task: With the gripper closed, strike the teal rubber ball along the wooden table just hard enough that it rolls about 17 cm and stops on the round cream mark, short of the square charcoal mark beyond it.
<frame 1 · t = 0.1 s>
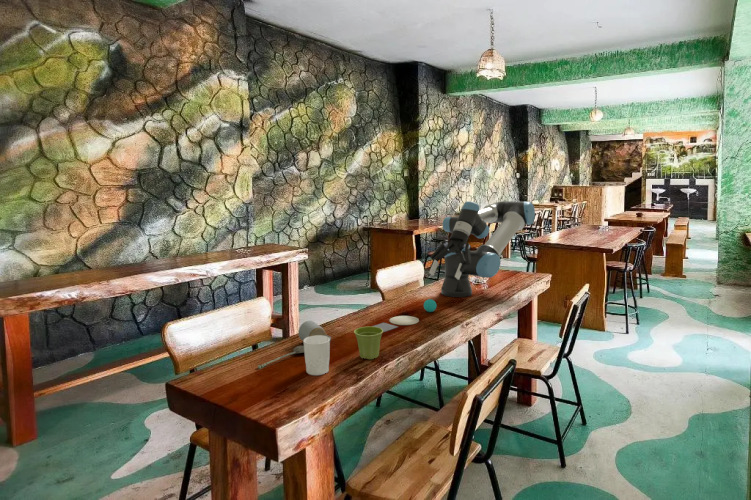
hand: (443, 276, 204), 15 cm above the table, tool tilted 35°, fingers open, 13 cm apart
ball: (430, 305, 205), on the table
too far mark: (383, 327, 185), on the table
plant pot: (369, 356, 156), on the table
white cup: (317, 371, 144), on the table
soupspoon: (287, 360, 155), on the table
ceramic mug: (316, 343, 169), on the table
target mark: (404, 320, 193), on the table
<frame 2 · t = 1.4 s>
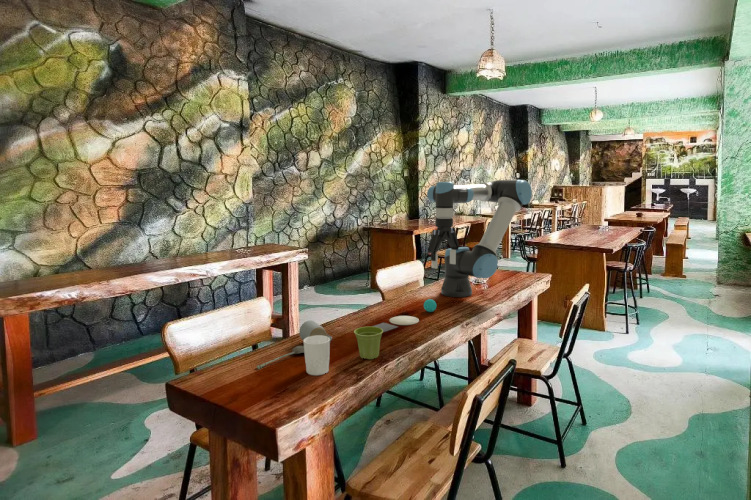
hand: (443, 266, 209), 19 cm above the table, tool pointing down, fingers open, 13 cm apart
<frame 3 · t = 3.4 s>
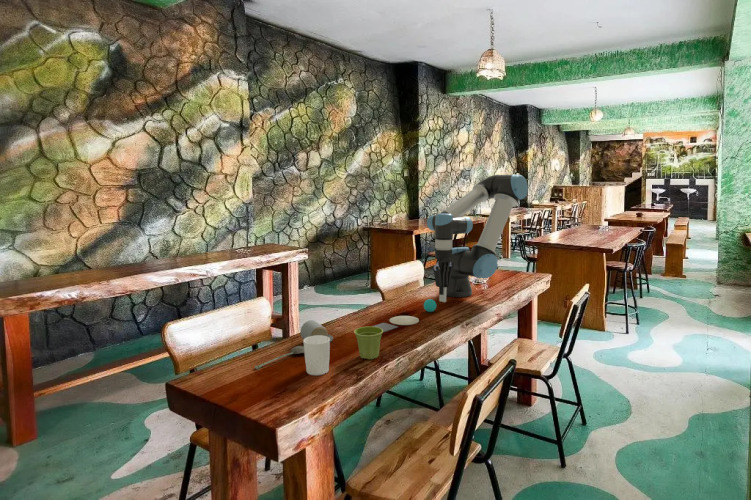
hand: (442, 301, 212), 3 cm above the table, tool pointing down, fingers closed
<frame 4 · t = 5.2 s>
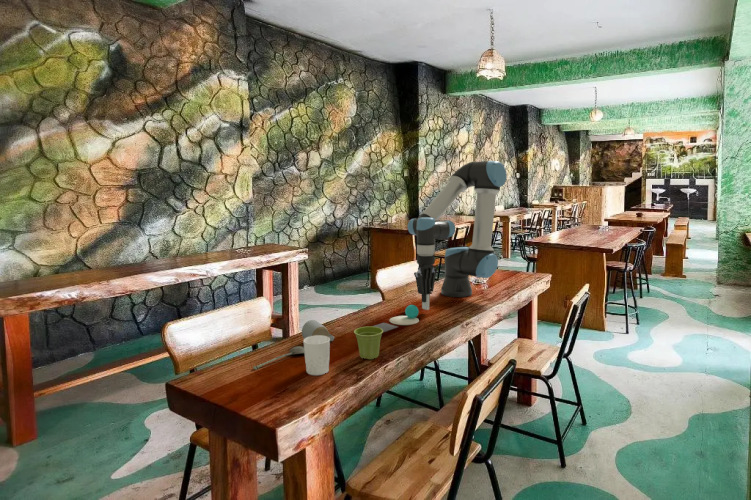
hand: (425, 308, 203), 2 cm above the table, tool pointing down, fingers closed
ball: (411, 311, 197), on the table
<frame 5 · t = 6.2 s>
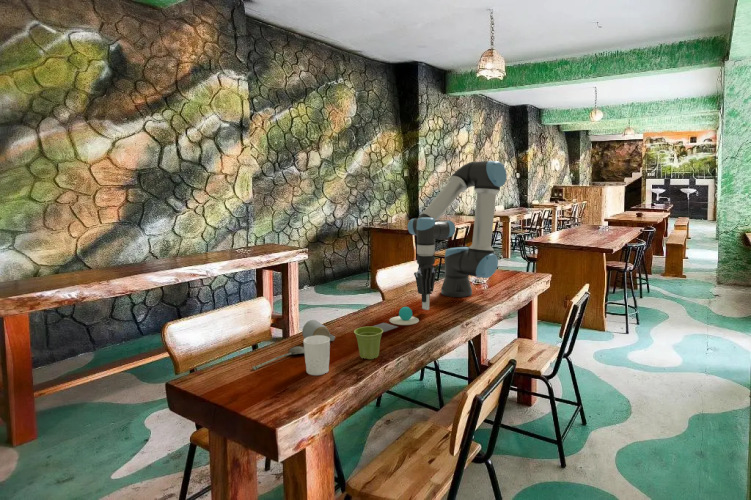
hand: (425, 308, 203), 2 cm above the table, tool pointing down, fingers closed
ball: (405, 313, 194), on the table
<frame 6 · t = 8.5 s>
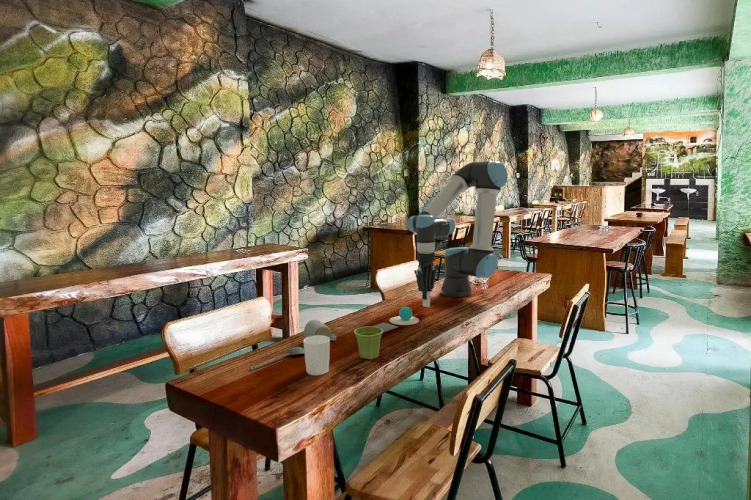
hand: (426, 306, 203), 3 cm above the table, tool pointing down, fingers closed
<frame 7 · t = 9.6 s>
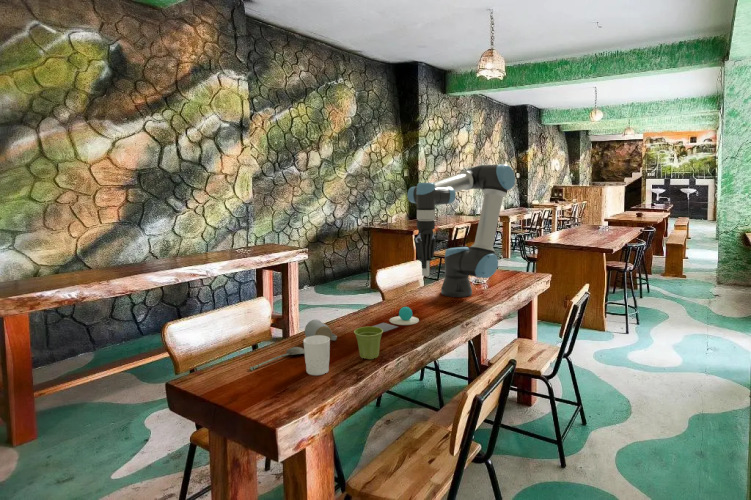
hand: (425, 275, 201), 16 cm above the table, tool pointing down, fingers closed
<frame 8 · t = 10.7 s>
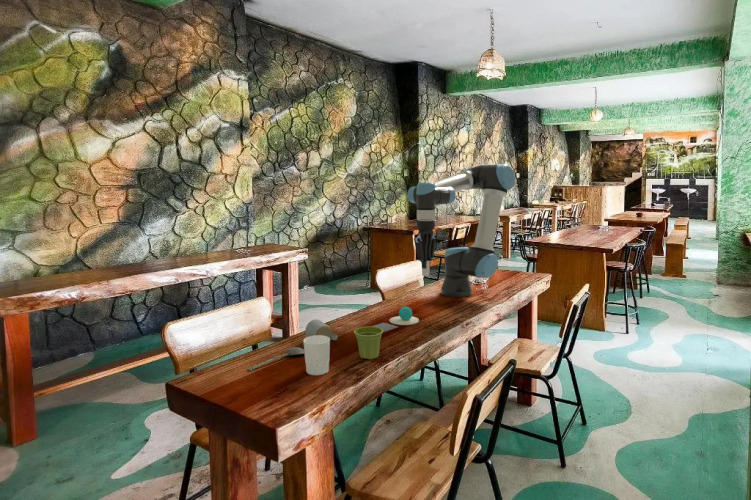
hand: (425, 275, 201), 16 cm above the table, tool pointing down, fingers closed
at the end: ball 1.0 cm from the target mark (horizontally); ball at rest at the end (0.0 cm/s); ball moved 16.0 cm from its start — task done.
